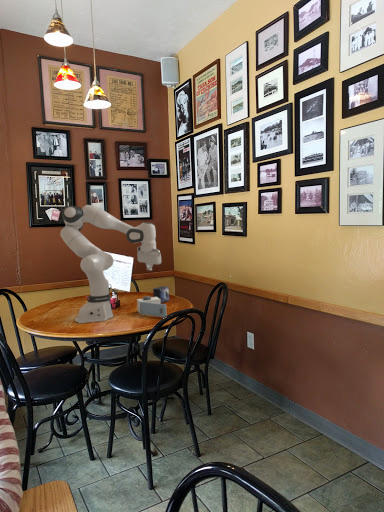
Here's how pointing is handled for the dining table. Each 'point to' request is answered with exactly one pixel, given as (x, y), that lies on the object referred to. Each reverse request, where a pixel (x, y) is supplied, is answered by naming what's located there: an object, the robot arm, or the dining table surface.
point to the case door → (153, 309)
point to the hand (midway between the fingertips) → (149, 270)
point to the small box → (161, 293)
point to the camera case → (148, 301)
